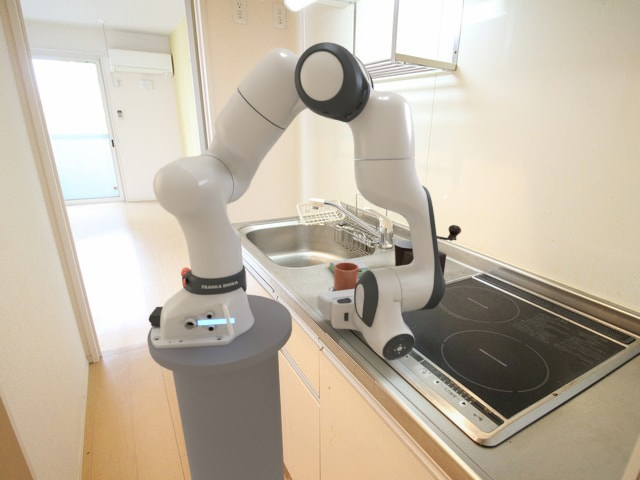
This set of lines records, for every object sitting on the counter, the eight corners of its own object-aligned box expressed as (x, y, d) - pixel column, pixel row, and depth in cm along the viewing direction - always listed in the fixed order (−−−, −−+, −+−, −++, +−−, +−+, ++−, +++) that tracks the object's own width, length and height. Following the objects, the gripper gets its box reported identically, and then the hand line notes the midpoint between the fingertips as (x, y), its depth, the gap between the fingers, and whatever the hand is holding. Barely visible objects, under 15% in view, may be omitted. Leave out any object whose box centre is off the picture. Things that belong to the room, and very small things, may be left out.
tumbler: (338, 310, 96) (338, 272, 92) (330, 300, 102) (331, 263, 98) (360, 307, 98) (362, 269, 94) (352, 297, 104) (353, 261, 100)
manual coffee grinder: (420, 288, 111) (426, 231, 105) (398, 275, 120) (402, 222, 114) (457, 279, 118) (464, 226, 112) (434, 268, 127) (440, 218, 121)
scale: (339, 280, 115) (340, 273, 114) (329, 268, 124) (329, 261, 123) (371, 276, 118) (372, 269, 117) (359, 265, 128) (359, 258, 127)
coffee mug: (404, 279, 117) (407, 249, 113) (387, 270, 123) (389, 242, 120) (429, 271, 123) (432, 244, 120) (411, 264, 130) (414, 237, 126)
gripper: (409, 293, 86) (384, 272, 98) (326, 304, 80) (311, 280, 92) (407, 316, 88) (383, 293, 101) (326, 329, 82) (311, 302, 94)
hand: (348, 287), depth 96 cm, fingers open, 8 cm apart
